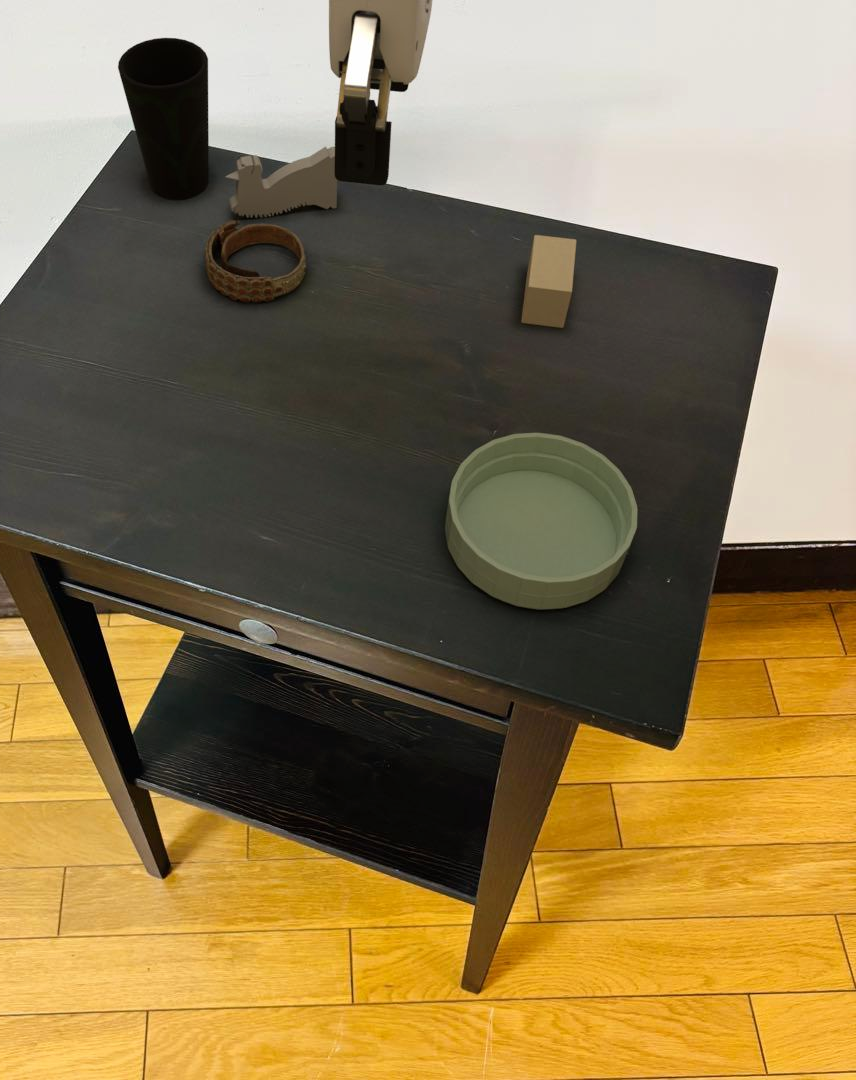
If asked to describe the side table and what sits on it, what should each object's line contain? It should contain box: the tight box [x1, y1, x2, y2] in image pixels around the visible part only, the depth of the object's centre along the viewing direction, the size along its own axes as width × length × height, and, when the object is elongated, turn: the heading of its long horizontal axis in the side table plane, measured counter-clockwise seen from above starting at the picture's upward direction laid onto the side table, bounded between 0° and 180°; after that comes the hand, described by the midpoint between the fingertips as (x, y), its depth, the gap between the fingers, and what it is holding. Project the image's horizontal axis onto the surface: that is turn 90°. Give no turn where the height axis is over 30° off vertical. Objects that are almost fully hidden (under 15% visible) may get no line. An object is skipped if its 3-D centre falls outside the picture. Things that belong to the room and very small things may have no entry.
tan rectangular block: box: [520, 234, 577, 329], centre depth 89 cm, size 6×4×4 cm, turn 169°
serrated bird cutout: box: [224, 146, 338, 219], centre depth 95 cm, size 6×1×10 cm
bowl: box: [444, 432, 639, 611], centre depth 75 cm, size 13×13×4 cm
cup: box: [117, 37, 210, 201], centre depth 95 cm, size 8×8×12 cm
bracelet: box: [204, 219, 307, 304], centre depth 92 cm, size 9×9×3 cm
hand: (373, 132), depth 67 cm, fingers open, 9 cm apart
